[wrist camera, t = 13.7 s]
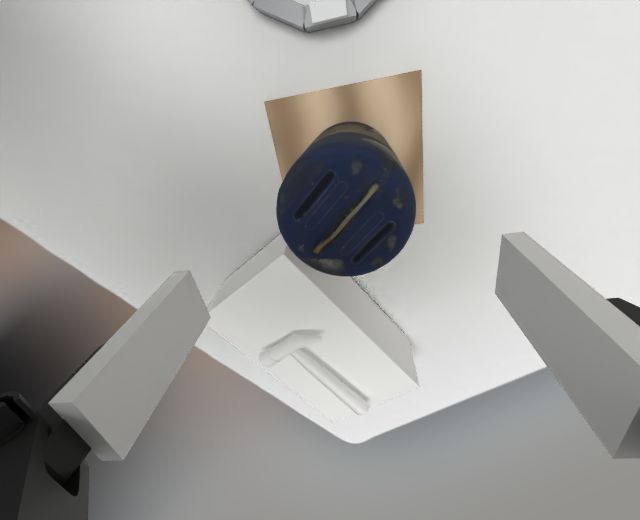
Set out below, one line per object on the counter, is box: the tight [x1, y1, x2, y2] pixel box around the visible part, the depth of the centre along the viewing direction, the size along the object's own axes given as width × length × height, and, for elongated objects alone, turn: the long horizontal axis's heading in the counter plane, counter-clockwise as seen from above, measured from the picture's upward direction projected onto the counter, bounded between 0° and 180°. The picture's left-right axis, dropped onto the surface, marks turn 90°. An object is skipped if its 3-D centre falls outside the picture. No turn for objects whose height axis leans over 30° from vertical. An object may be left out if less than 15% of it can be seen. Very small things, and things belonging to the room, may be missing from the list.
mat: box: [264, 70, 424, 224], centre depth 34 cm, size 16×16×1 cm
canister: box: [276, 121, 416, 277], centre depth 26 cm, size 10×10×18 cm
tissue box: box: [206, 234, 419, 423], centre depth 40 cm, size 14×25×11 cm, turn 41°
